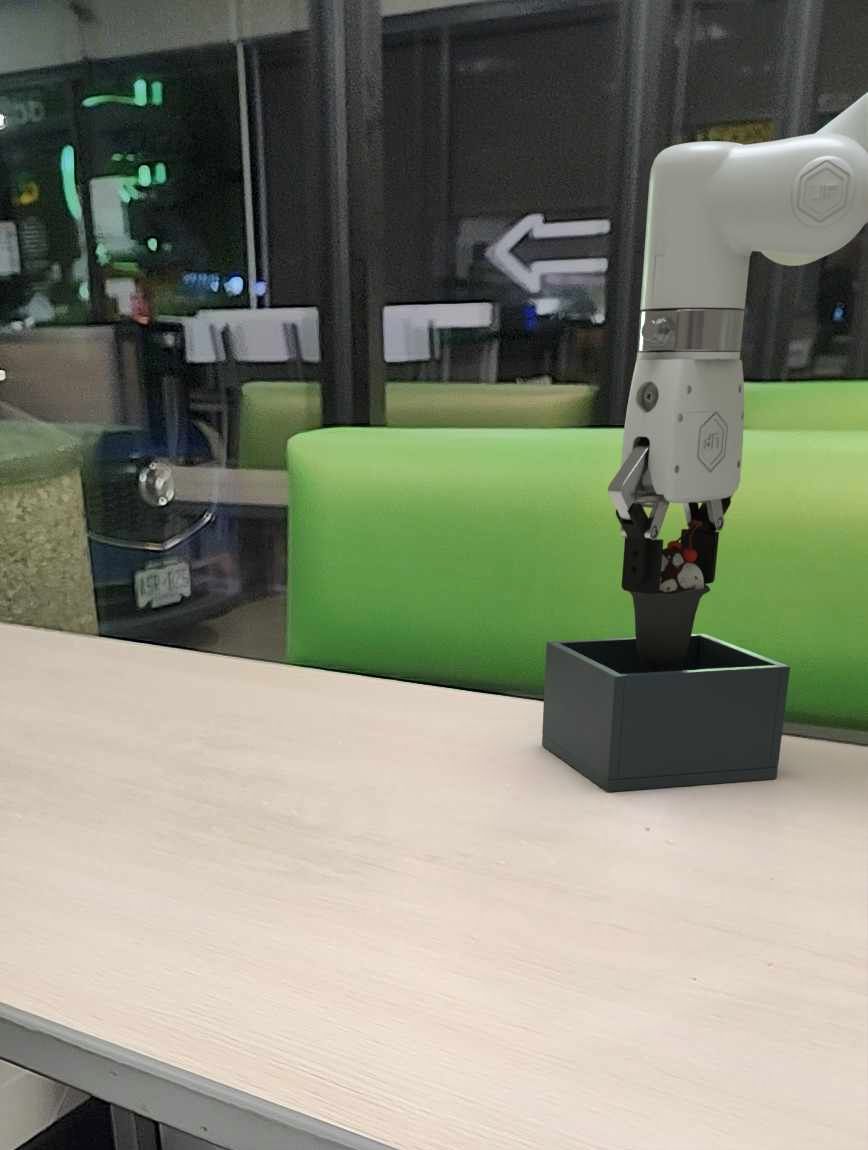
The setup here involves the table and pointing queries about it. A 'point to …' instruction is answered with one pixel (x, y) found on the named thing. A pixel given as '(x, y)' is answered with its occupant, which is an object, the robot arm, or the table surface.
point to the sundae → (669, 608)
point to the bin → (663, 713)
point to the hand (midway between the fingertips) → (668, 584)
